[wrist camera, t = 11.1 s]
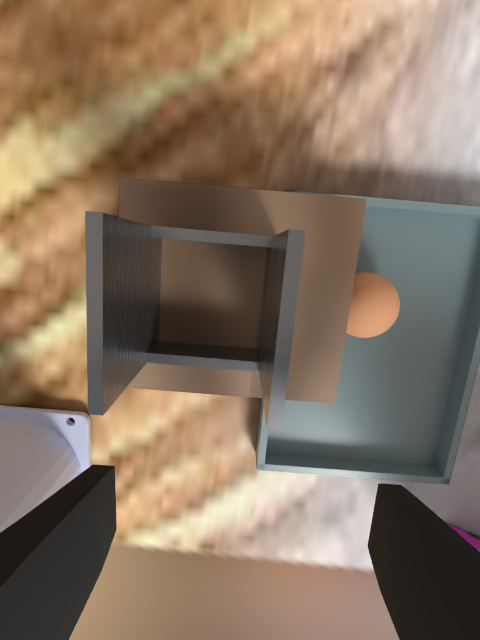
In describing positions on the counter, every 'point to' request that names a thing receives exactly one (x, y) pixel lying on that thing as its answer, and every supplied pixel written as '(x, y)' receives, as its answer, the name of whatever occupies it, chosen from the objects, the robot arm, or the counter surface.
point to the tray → (397, 357)
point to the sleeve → (144, 310)
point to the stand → (248, 281)
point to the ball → (372, 305)
